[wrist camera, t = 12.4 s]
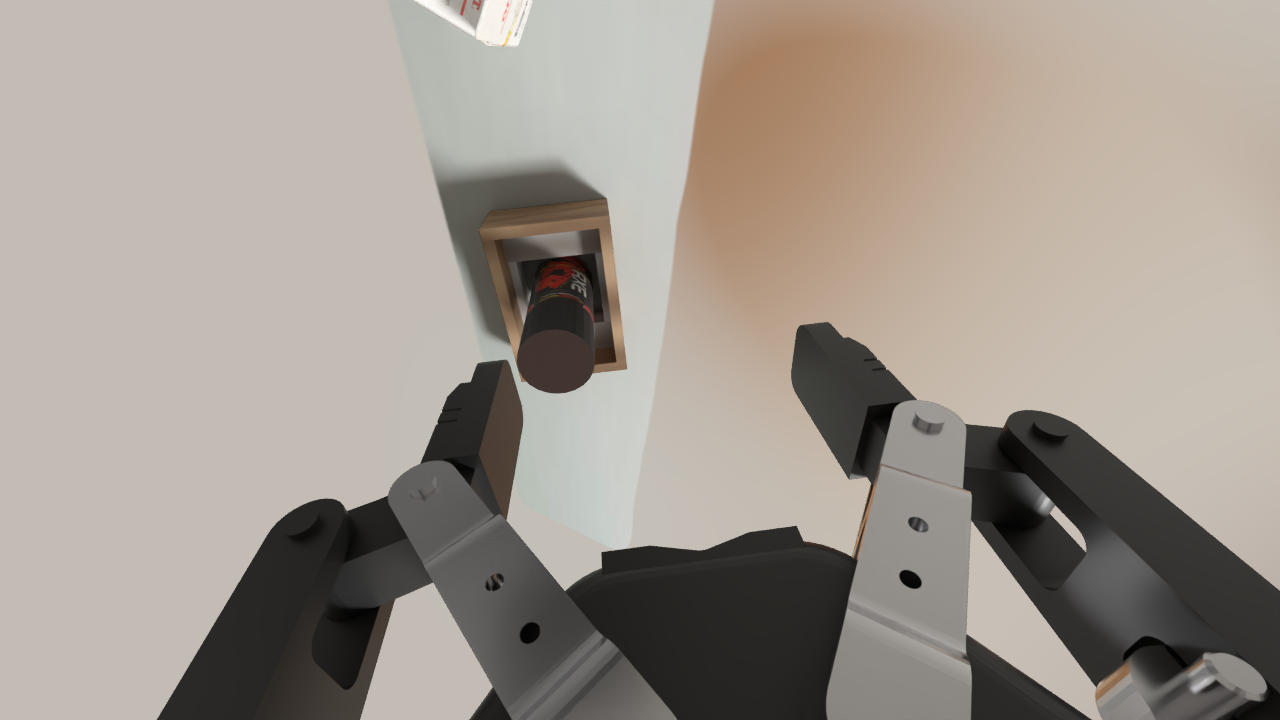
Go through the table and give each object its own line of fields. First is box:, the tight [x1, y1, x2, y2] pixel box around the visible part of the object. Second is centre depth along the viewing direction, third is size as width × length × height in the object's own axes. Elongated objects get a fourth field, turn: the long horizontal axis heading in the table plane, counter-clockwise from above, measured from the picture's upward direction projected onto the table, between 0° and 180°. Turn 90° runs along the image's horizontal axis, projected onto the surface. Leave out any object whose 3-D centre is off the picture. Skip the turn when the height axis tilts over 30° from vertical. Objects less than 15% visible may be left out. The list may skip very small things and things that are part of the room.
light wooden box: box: [479, 199, 627, 382], centre depth 45 cm, size 16×11×6 cm
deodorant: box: [517, 256, 595, 393], centre depth 41 cm, size 6×6×15 cm
